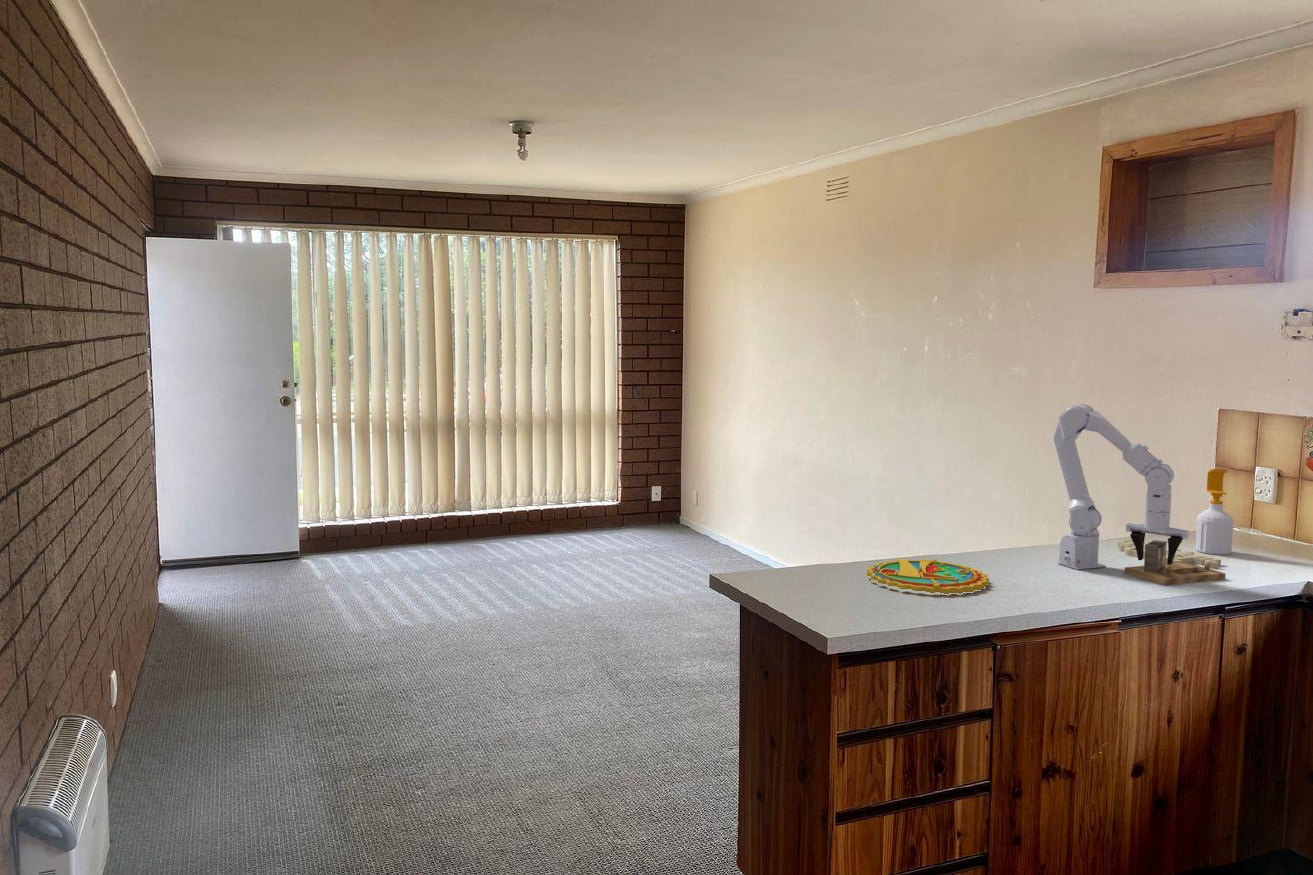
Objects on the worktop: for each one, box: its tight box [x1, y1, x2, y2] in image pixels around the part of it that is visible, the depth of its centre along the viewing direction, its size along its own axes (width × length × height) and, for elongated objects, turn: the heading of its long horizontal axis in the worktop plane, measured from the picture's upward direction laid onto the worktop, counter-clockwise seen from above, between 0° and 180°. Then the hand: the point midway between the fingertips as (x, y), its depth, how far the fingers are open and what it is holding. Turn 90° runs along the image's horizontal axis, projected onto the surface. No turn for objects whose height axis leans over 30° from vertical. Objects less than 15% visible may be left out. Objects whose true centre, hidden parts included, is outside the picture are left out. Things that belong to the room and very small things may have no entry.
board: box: [1123, 562, 1226, 586], centre depth 249 cm, size 20×13×3 cm, turn 107°
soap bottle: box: [1194, 468, 1234, 556], centre depth 276 cm, size 9×9×25 cm
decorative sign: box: [1117, 539, 1222, 570], centre depth 270 cm, size 31×2×15 cm
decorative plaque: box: [866, 558, 990, 594], centre depth 245 cm, size 30×3×30 cm
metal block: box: [1143, 539, 1168, 573], centre depth 250 cm, size 8×3×7 cm, turn 138°
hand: (1155, 561), depth 250 cm, fingers open, 6 cm apart
